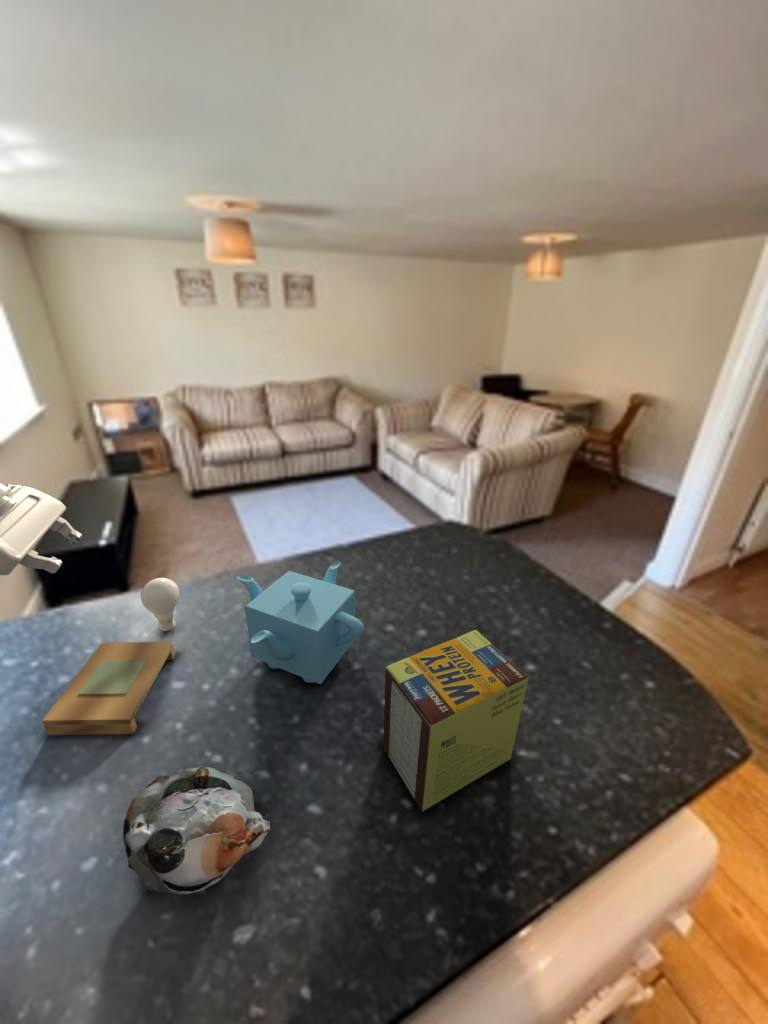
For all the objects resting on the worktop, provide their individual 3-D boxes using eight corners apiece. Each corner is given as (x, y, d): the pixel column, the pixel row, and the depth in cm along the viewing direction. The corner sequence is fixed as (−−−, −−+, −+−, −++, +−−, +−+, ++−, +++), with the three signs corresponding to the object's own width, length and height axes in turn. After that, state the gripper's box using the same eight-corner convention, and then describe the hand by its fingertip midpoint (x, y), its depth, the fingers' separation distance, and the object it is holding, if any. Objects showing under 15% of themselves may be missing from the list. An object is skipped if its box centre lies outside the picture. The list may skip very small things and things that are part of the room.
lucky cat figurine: (264, 776, 59) (284, 749, 50) (248, 895, 51) (268, 891, 42) (142, 769, 55) (138, 738, 46) (104, 898, 47) (89, 894, 38)
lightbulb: (174, 642, 82) (162, 592, 77) (142, 637, 83) (129, 588, 78) (192, 620, 88) (183, 573, 83) (162, 616, 89) (152, 569, 84)
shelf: (48, 735, 64) (41, 719, 63) (106, 655, 79) (101, 641, 77) (133, 734, 65) (128, 718, 63) (175, 655, 79) (172, 640, 78)
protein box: (512, 759, 63) (531, 676, 56) (421, 814, 56) (430, 727, 49) (465, 705, 71) (476, 627, 64) (380, 747, 64) (383, 665, 57)
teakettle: (370, 679, 75) (371, 608, 69) (255, 710, 69) (245, 635, 63) (339, 613, 91) (338, 550, 85) (244, 632, 85) (235, 566, 79)
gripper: (-1, 494, 77) (79, 537, 84) (-76, 552, 60) (32, 601, 66) (20, 468, 77) (99, 513, 83) (-49, 519, 59) (58, 572, 65)
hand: (69, 553), depth 74 cm, fingers open, 8 cm apart
